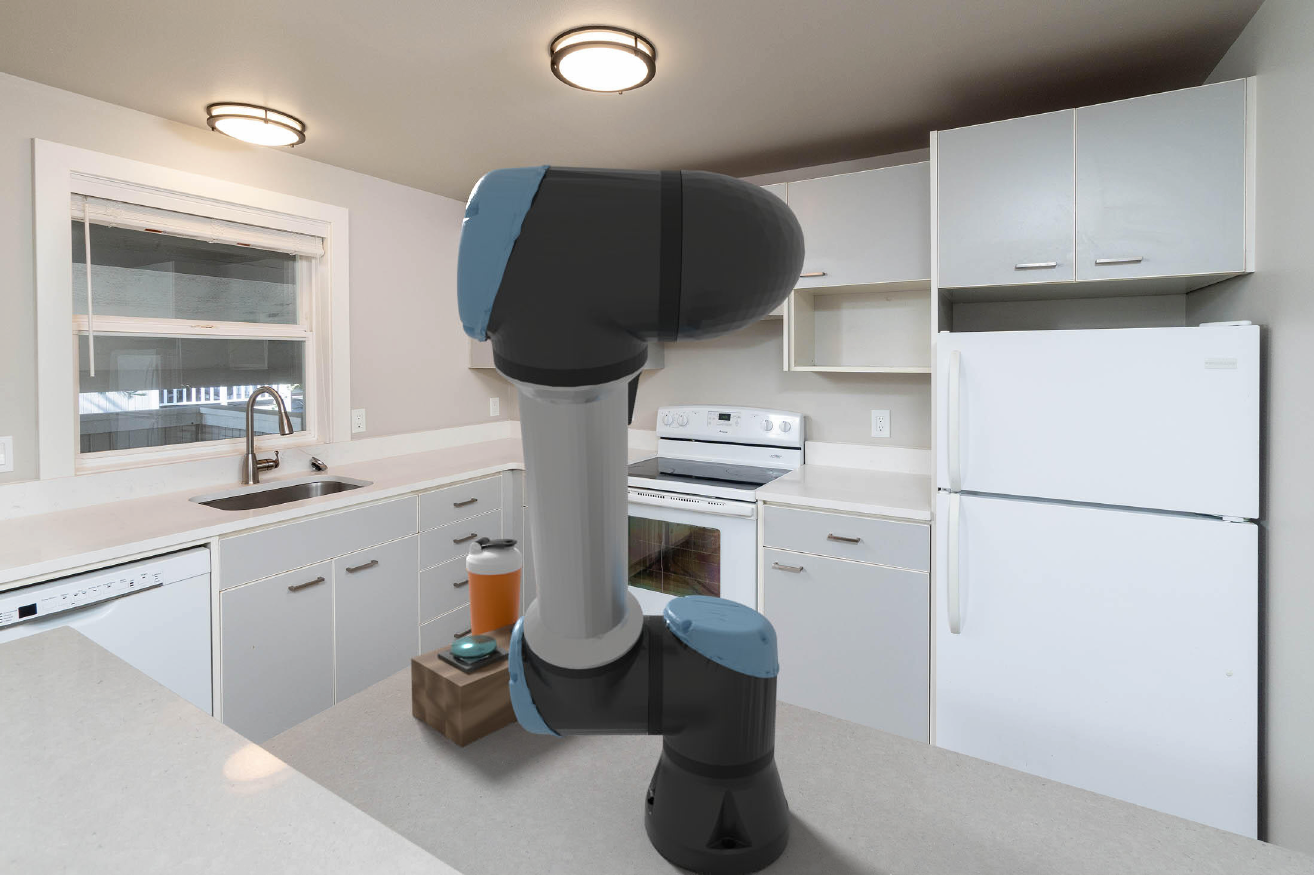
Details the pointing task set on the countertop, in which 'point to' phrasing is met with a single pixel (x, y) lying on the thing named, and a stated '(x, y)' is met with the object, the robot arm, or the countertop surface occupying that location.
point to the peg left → (473, 647)
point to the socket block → (464, 691)
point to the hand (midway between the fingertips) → (608, 474)
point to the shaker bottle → (493, 583)
